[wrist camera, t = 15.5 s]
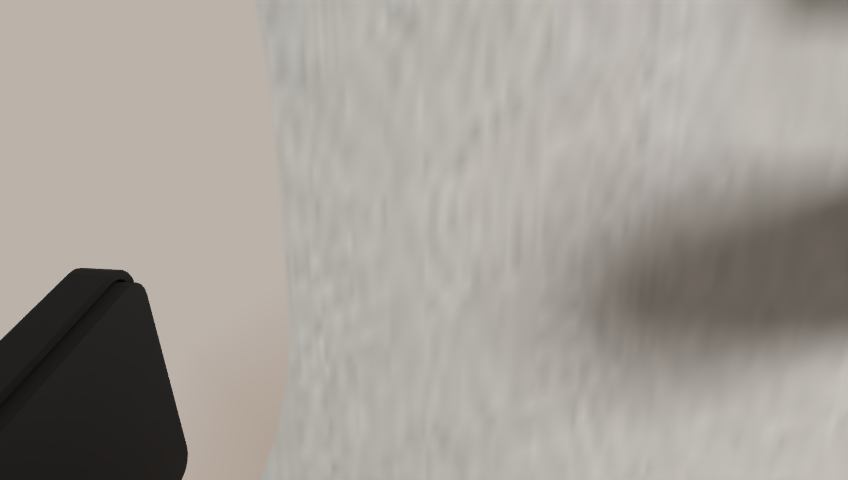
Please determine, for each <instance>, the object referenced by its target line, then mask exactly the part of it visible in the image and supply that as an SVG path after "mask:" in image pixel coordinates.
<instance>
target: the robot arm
mask: <svg viewBox="0 0 848 480" xmlns="http://www.w3.org/2000/svg"><path fill="white" fill-rule="evenodd" d="M187 455H188V452H187V445H186V441H185V438H184V434H183V431H182V427H181V422H180V419H179V415H178V411H177V407H176V403H175V400H174V396H173V392H172V388H171V384H170V380H169V377H168V373H167V369H166V365H165V361H164V357H163V354H162V350H161V346H160V343H159V338H158V335H157V331H156V327H155V323H154V319H153V316H152V312H151V308H150V304H149V301H148V296H147V294H146V291H145V289H144V287H143V286H142V285H141V284H139V283H134V281H133V278H132V277H131V276H130V275H129V273H127V272H126V271H123V270H111V269H109V270H108V269H90V268H79V269H75V270H73V271H72V272H70V273H69V274H68V275H67V276H66V277H65V278H64V279H63V280H62V281H61V282H60V283H59V284H58V285H57V286H56V287H55V288H54V289H53V290H52V291H51V292H50V293H48V294H47V295H46V297H44V299H43V300H41V301H40V302H39V303H38V304H37V305H36V306H35V307H34V308H33V309H32V310H31V311H30V312H29V313H28V314H27V315H26V316H25V317H24V318H23V319H22V320H21V321H20V322H19V323H18V324H17V325H16V326H15V327H14V328H13V329H12V330H11V331H10V332H9V333H8V334H7V335H6V336H5V337H3V339H2V340H0V480H182V477H183V475H184V473H185V469H186V465H187Z"/></svg>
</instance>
